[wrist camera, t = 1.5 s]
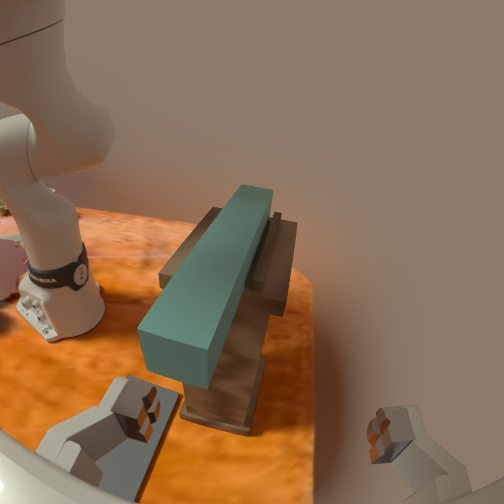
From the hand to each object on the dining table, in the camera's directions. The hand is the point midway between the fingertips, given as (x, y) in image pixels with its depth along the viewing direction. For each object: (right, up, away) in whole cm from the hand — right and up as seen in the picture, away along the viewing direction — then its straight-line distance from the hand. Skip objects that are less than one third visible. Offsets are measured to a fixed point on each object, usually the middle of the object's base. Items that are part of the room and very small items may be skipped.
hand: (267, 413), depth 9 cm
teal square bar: (-2, +4, +14) cm, 15 cm away
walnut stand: (-5, -16, +32) cm, 36 cm away
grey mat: (-18, -21, +21) cm, 35 cm away
